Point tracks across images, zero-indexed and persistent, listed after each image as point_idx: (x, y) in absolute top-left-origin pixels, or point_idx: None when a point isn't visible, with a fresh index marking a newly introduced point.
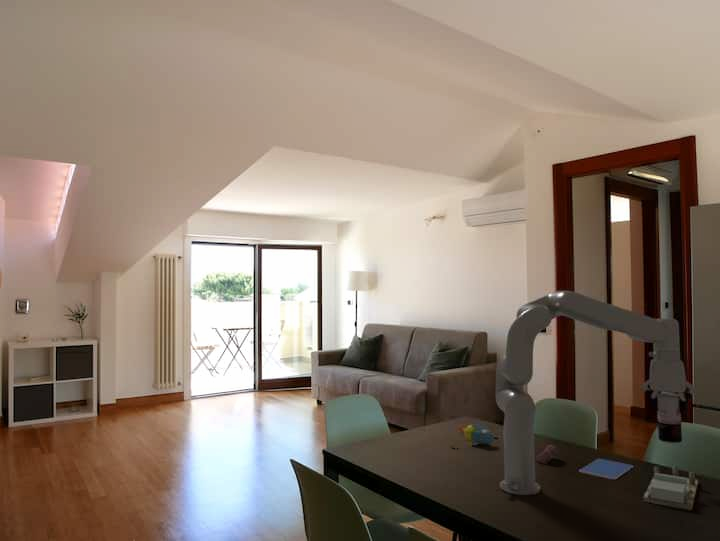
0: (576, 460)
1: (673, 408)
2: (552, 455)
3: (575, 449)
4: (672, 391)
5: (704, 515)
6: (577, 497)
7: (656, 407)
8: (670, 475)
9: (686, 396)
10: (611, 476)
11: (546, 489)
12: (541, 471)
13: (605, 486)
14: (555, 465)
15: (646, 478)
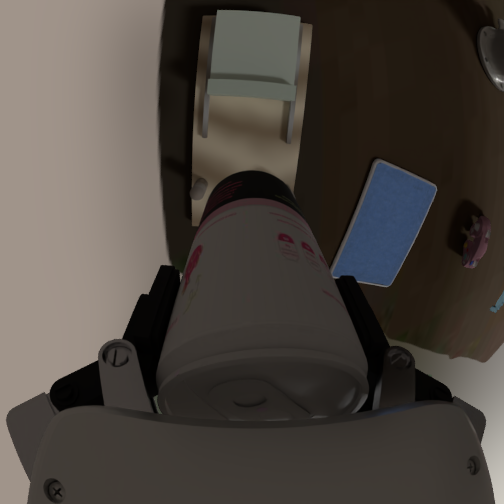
0: (427, 261)
1: (217, 262)
2: (476, 227)
3: (412, 321)
4: (203, 428)
5: (179, 7)
6: (427, 23)
7: (349, 292)
8: (250, 95)
9: (90, 384)
10: (383, 167)
11: (472, 59)
12: (484, 163)
13: (392, 101)
14: (464, 211)
15: (306, 202)
